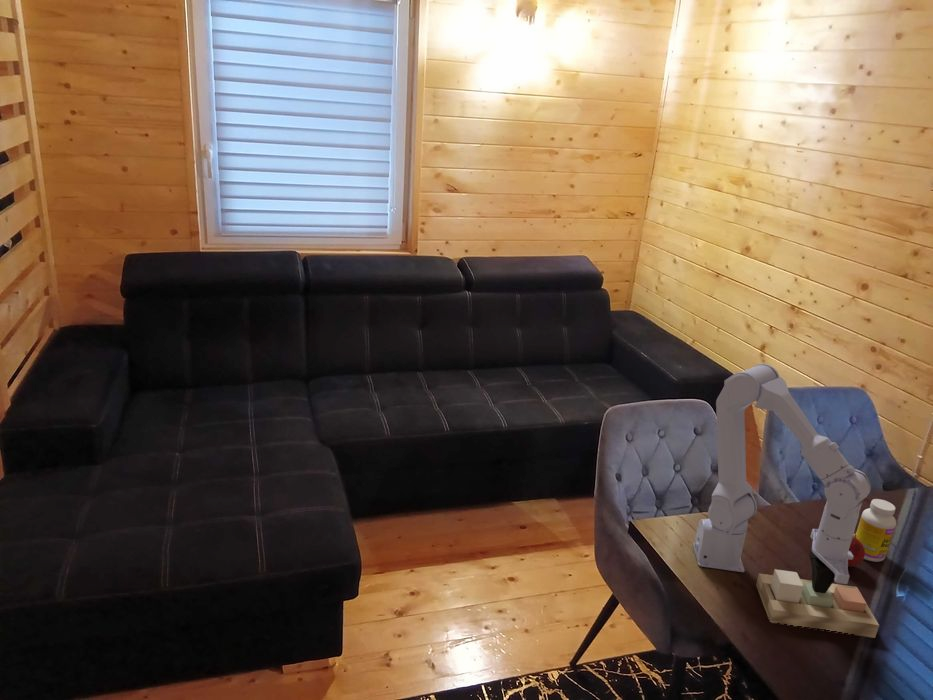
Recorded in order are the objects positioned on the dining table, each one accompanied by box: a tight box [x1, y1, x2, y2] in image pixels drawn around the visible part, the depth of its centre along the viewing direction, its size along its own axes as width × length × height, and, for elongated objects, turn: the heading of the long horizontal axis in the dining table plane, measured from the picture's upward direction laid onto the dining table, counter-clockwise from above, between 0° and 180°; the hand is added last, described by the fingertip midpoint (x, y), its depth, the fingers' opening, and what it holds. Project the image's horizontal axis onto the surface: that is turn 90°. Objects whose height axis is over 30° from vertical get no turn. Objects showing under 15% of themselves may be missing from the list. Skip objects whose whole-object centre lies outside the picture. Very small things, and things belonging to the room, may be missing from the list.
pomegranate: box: [848, 533, 865, 567], centre depth 149 cm, size 6×6×8 cm
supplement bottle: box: [855, 498, 897, 563], centre depth 153 cm, size 7×7×13 cm
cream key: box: [770, 568, 803, 603], centre depth 135 cm, size 4×4×4 cm
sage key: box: [802, 582, 834, 608], centre depth 135 cm, size 4×4×4 cm
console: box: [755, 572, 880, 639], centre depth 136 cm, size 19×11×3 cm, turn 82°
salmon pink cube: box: [833, 586, 868, 613], centre depth 135 cm, size 4×4×4 cm
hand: (818, 590), depth 135 cm, fingers closed, pressing on sage key
